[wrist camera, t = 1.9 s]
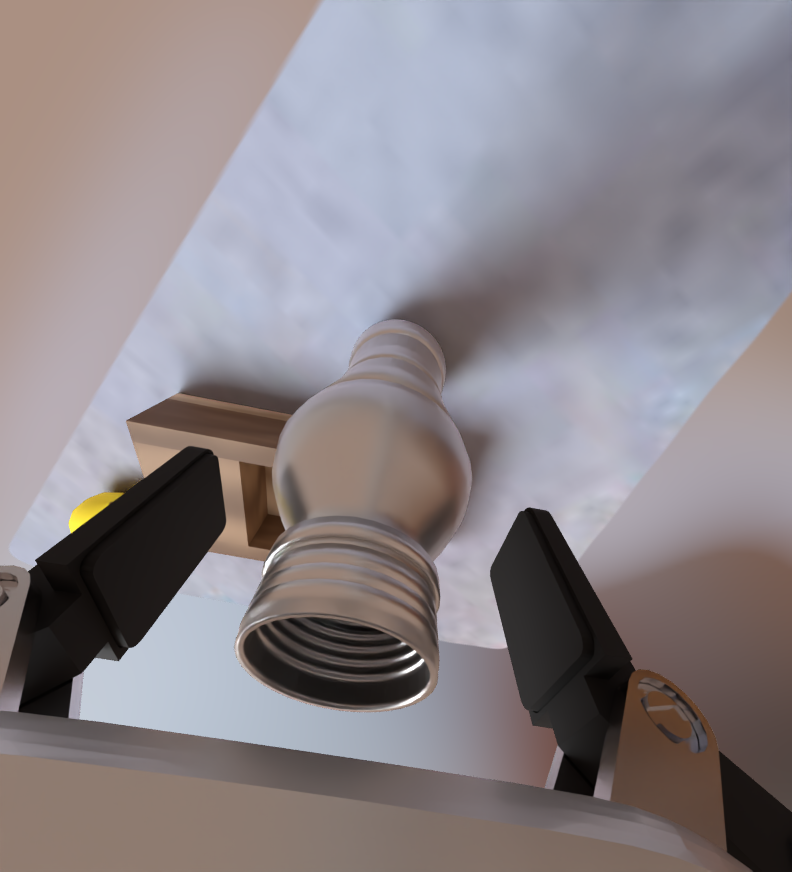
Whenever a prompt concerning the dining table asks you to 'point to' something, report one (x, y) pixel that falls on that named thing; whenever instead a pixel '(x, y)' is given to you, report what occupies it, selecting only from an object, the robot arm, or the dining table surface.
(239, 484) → the brown slotted block
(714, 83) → the dining table surface
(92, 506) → the lemon
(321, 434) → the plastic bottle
